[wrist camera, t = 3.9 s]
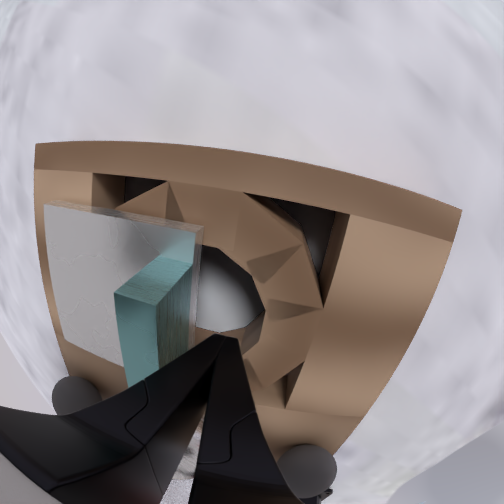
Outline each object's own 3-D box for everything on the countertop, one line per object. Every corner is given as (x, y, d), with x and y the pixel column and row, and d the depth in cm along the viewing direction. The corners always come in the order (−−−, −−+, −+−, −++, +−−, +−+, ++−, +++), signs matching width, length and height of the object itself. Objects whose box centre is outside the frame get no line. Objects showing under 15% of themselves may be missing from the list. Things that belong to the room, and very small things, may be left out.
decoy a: (323, 461, 13) (323, 505, 10) (271, 456, 13) (264, 501, 10) (345, 436, 12) (348, 487, 9) (284, 430, 12) (279, 484, 9)
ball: (226, 437, 13) (208, 500, 9) (154, 415, 14) (125, 471, 9) (235, 393, 12) (212, 473, 7) (147, 367, 12) (104, 434, 8)
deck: (310, 455, 17) (309, 480, 14) (101, 397, 18) (87, 416, 16) (432, 198, 10) (462, 209, 7) (68, 141, 11) (35, 143, 9)
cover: (192, 377, 11) (166, 435, 8) (73, 331, 12) (35, 368, 9) (204, 226, 9) (155, 266, 6) (56, 200, 9) (-4, 220, 6)
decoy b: (116, 410, 14) (94, 447, 11) (77, 391, 15) (53, 421, 11) (106, 378, 13) (77, 418, 10) (65, 357, 13) (34, 390, 10)
